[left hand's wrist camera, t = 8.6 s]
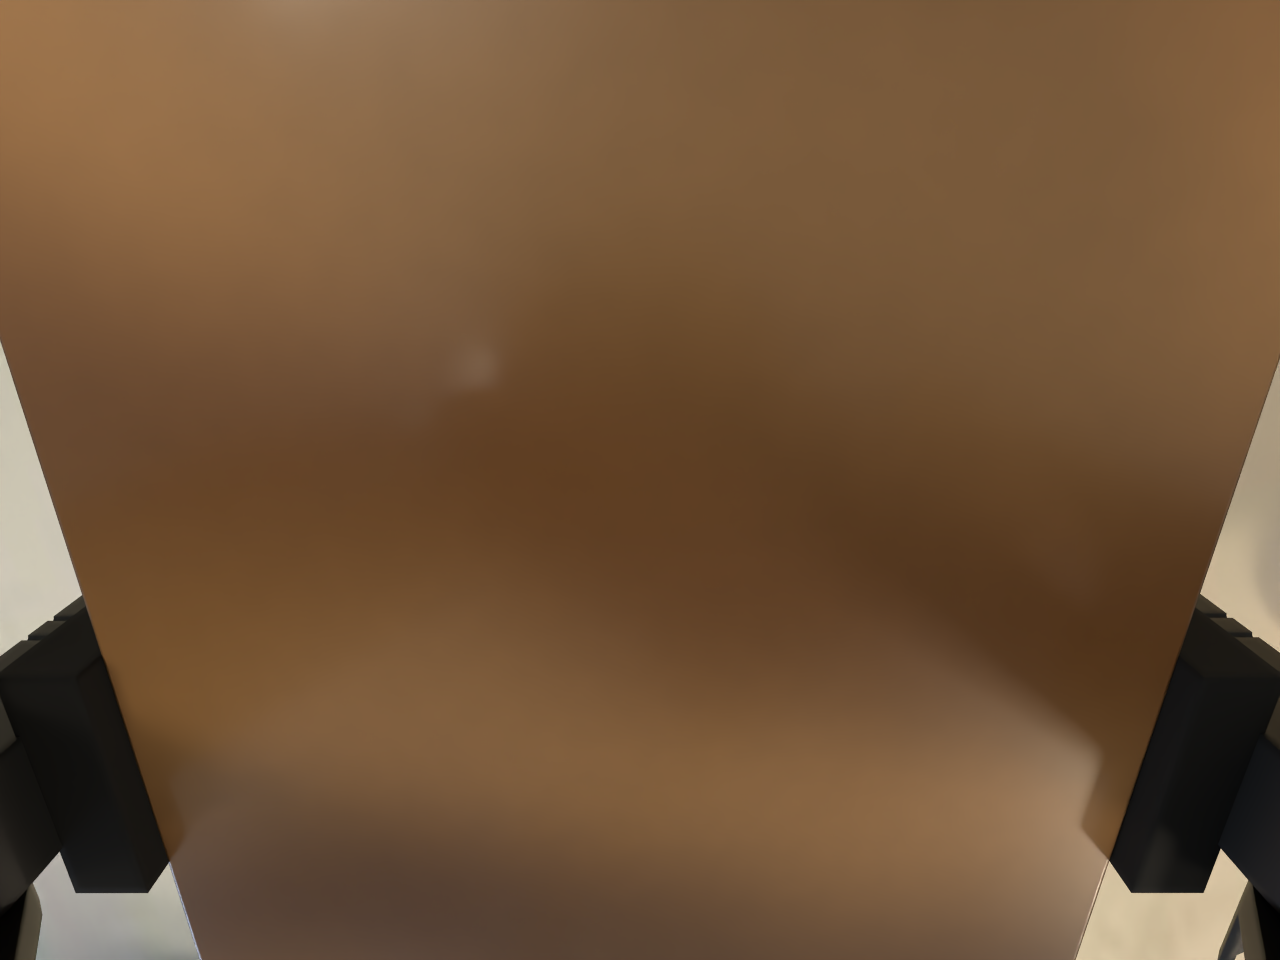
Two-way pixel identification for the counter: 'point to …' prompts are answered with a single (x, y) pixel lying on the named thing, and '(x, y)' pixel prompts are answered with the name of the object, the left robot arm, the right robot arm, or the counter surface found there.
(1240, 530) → the counter surface
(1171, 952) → the counter surface
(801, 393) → the thick board
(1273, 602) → the counter surface
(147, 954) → the counter surface
